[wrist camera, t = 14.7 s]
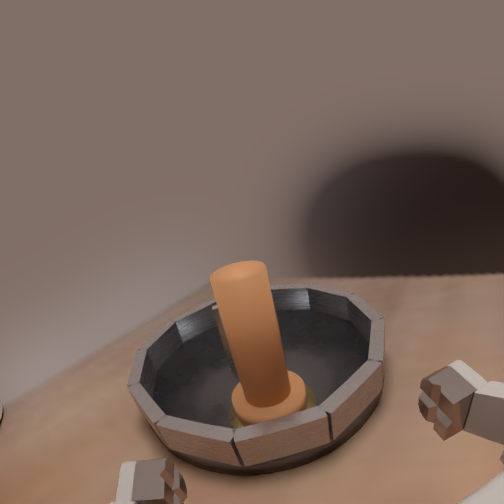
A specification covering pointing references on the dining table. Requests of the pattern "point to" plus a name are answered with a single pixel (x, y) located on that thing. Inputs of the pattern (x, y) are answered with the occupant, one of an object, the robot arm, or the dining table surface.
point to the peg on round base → (255, 345)
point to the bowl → (226, 379)
